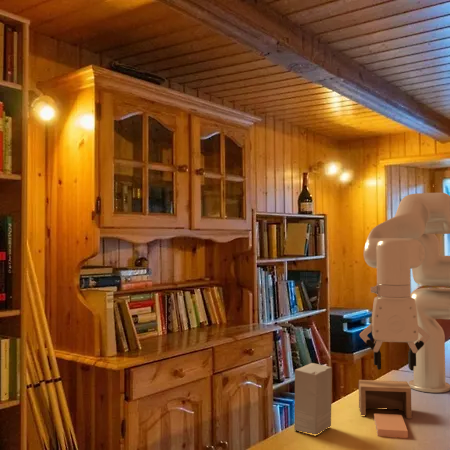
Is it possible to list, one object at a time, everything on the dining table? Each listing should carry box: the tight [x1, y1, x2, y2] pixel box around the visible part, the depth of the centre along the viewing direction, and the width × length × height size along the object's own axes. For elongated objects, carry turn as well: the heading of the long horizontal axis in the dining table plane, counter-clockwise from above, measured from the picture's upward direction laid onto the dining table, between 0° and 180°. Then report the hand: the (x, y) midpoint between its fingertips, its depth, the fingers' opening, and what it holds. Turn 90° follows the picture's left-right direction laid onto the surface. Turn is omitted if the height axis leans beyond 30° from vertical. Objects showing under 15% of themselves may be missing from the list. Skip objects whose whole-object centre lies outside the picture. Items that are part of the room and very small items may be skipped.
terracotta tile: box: [373, 413, 409, 439], centre depth 138 cm, size 12×7×2 cm, turn 169°
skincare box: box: [293, 362, 333, 434], centre depth 138 cm, size 8×7×16 cm
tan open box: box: [358, 379, 412, 419], centre depth 151 cm, size 8×13×8 cm, turn 80°
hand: (394, 368), depth 128 cm, fingers open, 6 cm apart
